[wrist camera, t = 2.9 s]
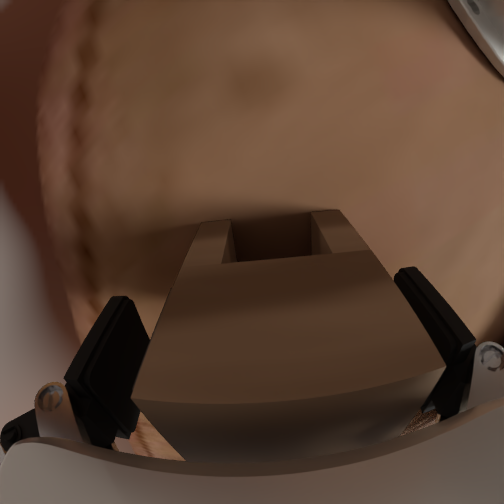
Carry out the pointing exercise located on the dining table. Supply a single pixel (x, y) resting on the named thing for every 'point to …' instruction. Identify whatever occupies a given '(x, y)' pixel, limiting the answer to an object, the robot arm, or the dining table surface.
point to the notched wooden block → (284, 351)
